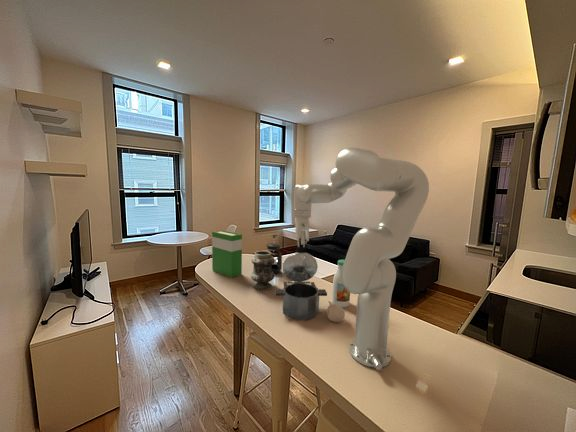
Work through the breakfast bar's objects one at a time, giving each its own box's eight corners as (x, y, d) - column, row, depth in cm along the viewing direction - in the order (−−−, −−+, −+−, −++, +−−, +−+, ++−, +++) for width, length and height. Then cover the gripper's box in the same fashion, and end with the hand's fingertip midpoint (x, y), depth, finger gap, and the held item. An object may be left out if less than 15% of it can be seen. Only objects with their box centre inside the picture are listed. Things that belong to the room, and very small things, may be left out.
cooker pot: (329, 320, 95) (330, 298, 94) (275, 320, 94) (275, 298, 93) (321, 300, 111) (321, 282, 110) (274, 300, 110) (275, 281, 109)
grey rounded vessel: (275, 282, 131) (276, 250, 129) (271, 292, 119) (272, 256, 117) (253, 281, 132) (254, 248, 130) (248, 290, 120) (248, 255, 118)
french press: (261, 271, 148) (262, 234, 145) (273, 268, 154) (274, 232, 152) (274, 276, 139) (275, 237, 137) (286, 273, 146) (287, 235, 143)
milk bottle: (329, 305, 108) (331, 261, 105) (334, 298, 114) (337, 257, 112) (346, 309, 104) (349, 264, 102) (351, 302, 111) (353, 260, 108)
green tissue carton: (212, 270, 146) (212, 231, 144) (222, 267, 152) (222, 230, 149) (231, 277, 136) (231, 235, 133) (241, 274, 142) (241, 234, 139)
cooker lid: (319, 254, 102) (318, 250, 105) (283, 253, 101) (283, 250, 104) (315, 283, 109) (314, 279, 112) (282, 283, 108) (281, 279, 111)
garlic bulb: (332, 314, 100) (333, 296, 99) (346, 320, 96) (347, 301, 95) (324, 321, 94) (325, 301, 94) (338, 327, 90) (340, 307, 90)
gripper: (313, 216, 96) (311, 261, 98) (308, 212, 110) (306, 251, 113) (294, 215, 95) (293, 260, 98) (292, 211, 110) (290, 250, 112)
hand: (300, 255), depth 105 cm, fingers closed
